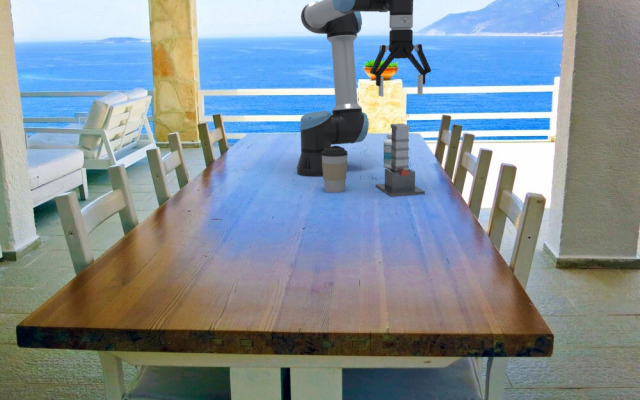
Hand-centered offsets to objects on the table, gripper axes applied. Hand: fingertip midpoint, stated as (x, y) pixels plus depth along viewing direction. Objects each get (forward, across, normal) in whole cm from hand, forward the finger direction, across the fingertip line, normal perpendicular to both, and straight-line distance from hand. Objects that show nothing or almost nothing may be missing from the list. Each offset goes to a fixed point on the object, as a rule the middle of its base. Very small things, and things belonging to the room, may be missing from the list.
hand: (400, 95), depth 227 cm
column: (+31, 0, 0) cm, 31 cm away
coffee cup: (+32, -21, +7) cm, 39 cm away
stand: (+32, 0, 0) cm, 32 cm away
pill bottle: (+32, +12, +42) cm, 54 cm away
